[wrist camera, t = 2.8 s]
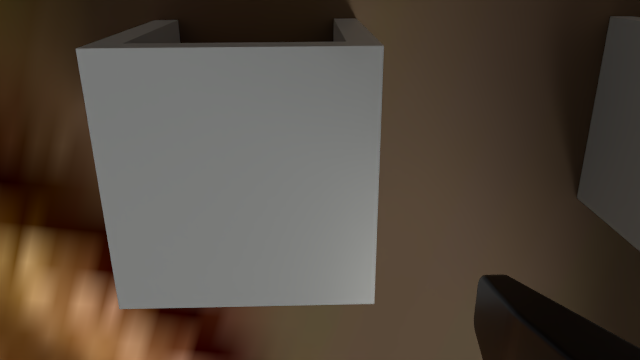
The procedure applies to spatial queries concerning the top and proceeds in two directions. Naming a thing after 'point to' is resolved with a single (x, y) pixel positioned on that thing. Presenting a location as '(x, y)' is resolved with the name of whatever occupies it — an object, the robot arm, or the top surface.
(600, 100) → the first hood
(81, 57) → the grey arch block
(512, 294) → the robot arm
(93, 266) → the top surface
